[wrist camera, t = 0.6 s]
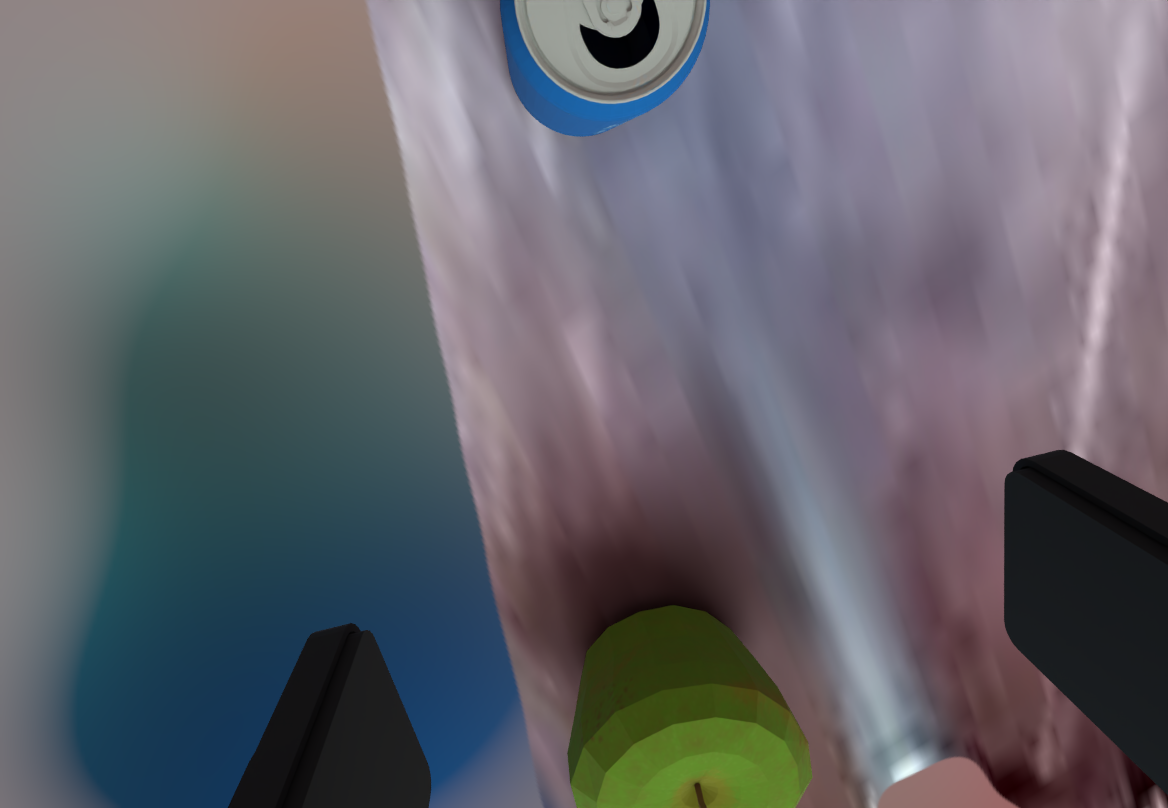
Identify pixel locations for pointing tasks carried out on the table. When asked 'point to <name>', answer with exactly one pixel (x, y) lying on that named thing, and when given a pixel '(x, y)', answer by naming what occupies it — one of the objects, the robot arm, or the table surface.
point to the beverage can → (599, 57)
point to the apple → (682, 720)
